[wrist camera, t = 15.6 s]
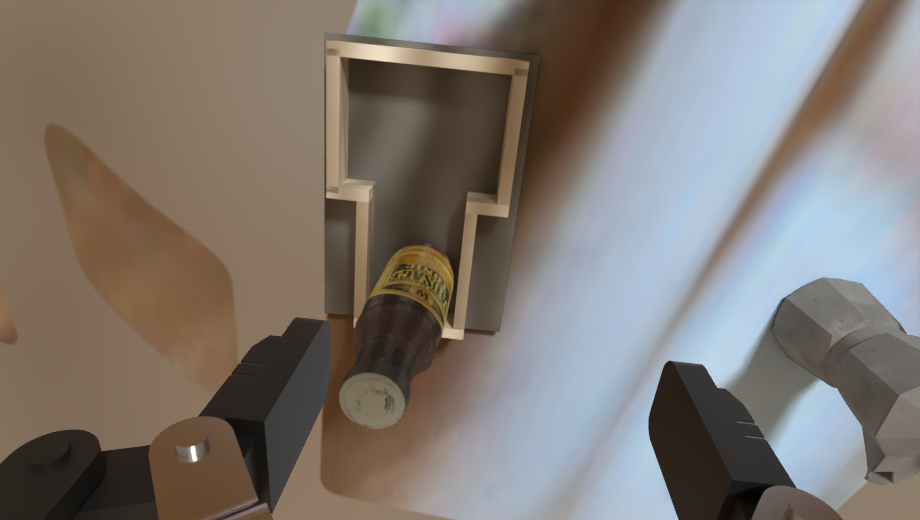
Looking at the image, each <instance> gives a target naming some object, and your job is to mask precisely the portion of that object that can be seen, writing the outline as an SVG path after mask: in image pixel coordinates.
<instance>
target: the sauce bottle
mask: <svg viewBox="0 0 920 520" xmlns="http://www.w3.org/2000/svg"><path fill="white" fill-rule="evenodd" d="M453 286H454V273H453V266H452V263H451V262H450V260H449V258H448V257H447V255H446V254H445V253H444V252H443V251H442V250H440V249H439V248H438V247H436V246H434V245H430V244H426V243H412V244H410V245H407V246H405V247H403V248H402V249H400V250H399V251H398V252H396V253H395V254H394V255H393V256H392V257H391V259H390V260H389V262H388V264H387V265H386V267H385V269H384V271H383V273H382V275H381V277H380V278H379V280H378V282H377V284H376V285H375V287H374V289H373V291H372V293H371V294H370V296H369V298H368V300H367V301H366V303H365V305H364V307H363V310H362V313H361V315H360V317H359V318H358V320H357V321H356V325H355V329H354V336H353V342H354V350H355V353H356V355H357V361H356V362H355V365H354V367H353V368H352V369H350V370H349V372H348V373H347V374H346V376H345V378H344V380H343V382H342V385H341V387H340V391H339V402H340V407H341V409H342V410H343V413H344V414H345V415H346V416H347V417H348V418H349V419H350V420H351V421H352V422H354V423H356V424H358V425H360V426H362V427H364V428H369V429H381V428H386V427H389V426H392V425H394V424H395V423H397V422H398V421H399V420H400V418H401V417H402V416H403V415H404V412H405V411H406V408H407V405H408V403H409V399H410V389H409V387H410V383H411V380H412V379H413V376H414V375H416V374H418V373H420V372H422V371H424V370H427V369H428V368H429V367H430V365H431V363H432V361H433V358H434V355H435V352H436V350H437V347H438V344H439V342H440V340H441V337H442V334H443V329H444V325H445V321H446V317H447V312H448V308H449V303H450V299H451V295H452V291H453Z"/></svg>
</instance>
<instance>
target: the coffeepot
mask: <svg viewBox="0 0 920 520" xmlns="http://www.w3.org/2000/svg"><path fill="white" fill-rule="evenodd" d="M771 331H772V333H773V334H774V336H775V338H776V340H777V342H778V343H779V344H780V346H781V348H782V349H783V351H784V353H785V354H786V356H787V357H788V358H789V359H791V360H792V361H794V362H795V363H797V364H798V365H800V366H801V367H803V368H804V369H806V370H807V371H809V372H810V373H812V374H813V375H815V376H816V377H818V378H819V379H821V380H822V381H824V382H825V383H827V384H828V385H830V386H831V387H835V388H837V389H838V391H839V392H840V394H841V396H842V397H843V399H844V401H845V402H846V404H847V405H848V407H849V408H850V410H851V411H852V413H853V414H854V415H855V417H856V418H857V420H858V421H859V423H860V424H861V425H862V429H863V436H864V443H865V449H866V457H867V467H868V471H867V474H866V476H865V479H866V480H867V481H869V482H872V483H874V484H879V485H886V484H888V483H890V482H892V483H896V482H898V481H901V480H903V479H906V478H908V477H911V476H913V475H916V474H920V337H917V336H912V335H907V334H906V332H905V330H904V329H903V327H902V326H901V324H900V323H899V322H898V321H897V320H896V319H895V318H894V317H893V316H892V315H891V314H890V313H889V312H888V310H887V309H886V308H885V307H884V306H883V305H882V304H881V303H880V302H879V301H878V300H877V299H876V298H875V297H874V296H873V295H872V294H871V293H870V292H869V291H868V290H867V288H866V287H865V286H864V285H863V284H862V283H856V282H850V281H846V280H842V279H830V278H824V277H823V278H821V279H818V280H816V281H813V282H811V283H809V284H806V285H804V286H802V287H801V288H799V289H797V290H796V291H794V292H793V293H792V294H791V295H790V296H788V297H786V298H785V300H784V301H783V303H782V304H781V306H780V308H779V310H778V312H777V314H776V317H775V320H774V326H773V328H772V330H771Z"/></svg>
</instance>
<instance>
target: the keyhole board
mask: <svg viewBox="0 0 920 520" xmlns="http://www.w3.org/2000/svg"><path fill="white" fill-rule="evenodd" d="M324 34H325V36H324V39H325V313H331V314H340V315H349V316H354V328H355V325H356V321H357V320H358V318H359V317H360V315H361V313H362V310H363V307H364V305H365V303H366V301H367V300H368V298H369V296H370V294H371V293H372V291H373V289H374V287H375V285H376V284H377V282H378V280H379V278H380V277H381V275H382V273H383V271H384V269H385V267H386V265H387V264H388V262H389V260H390V259H391V257H392V256H393V255H394V254H395V253H396V252H398V251H399V250H400V249H402V248H403V247H405V246H407V245H410V244H412V243H426V244H430V245H434V246H436V247H438V248H439V249H440V250H442V251H443V252H444V253H445V254H446V255H447V257H448V258H449V260H450V262H451V263H452V266H453V273H454V286H453V291H452V295H451V299H450V303H449V308H448V312H447V317H446V321H445V325H444V329H443V334H442V338H451V339H460V340H463V335H464V328H468V329H477V330H486V331H495V332H500V327H501V320H502V313H503V306H504V300H505V293H506V286H507V279H508V272H509V266H510V259H511V252H512V245H513V238H514V232H515V225H516V218H517V211H518V204H519V197H520V191H521V184H522V177H523V170H524V163H525V157H526V150H527V143H528V136H529V129H530V123H531V116H532V109H533V102H534V95H535V88H536V82H537V75H538V68H539V61H540V55H533V54H524V53H514V52H505V51H495V50H486V49H477V48H467V47H458V46H449V45H439V44H430V43H421V42H411V41H402V40H392V39H383V38H374V37H364V36H355V35H346V34H336V33H326V32H325V33H324Z"/></svg>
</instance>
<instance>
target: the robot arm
mask: <svg viewBox="0 0 920 520" xmlns="http://www.w3.org/2000/svg"><path fill="white" fill-rule="evenodd" d="M329 383H330V331H329V323H328V322H327V321H324V320H315V319H306V318H298V317H296V318H295V319H294V320H293V321H292V322H291V324H290V325H289V327H288V328H287V329H286V331H285V332H284V334H283V335H282V336H281V337H280V336H272V335H270V336H268V337H267V338H265V339H264V340H262V341H260V342H259V343H257V344H255V345H254V346H252V348H251V349H250V350H249V351H248V353H247V354H246V355H245V356H244V358H243V359H242V360H241V364H238V366H237V367H236V368H235V369H234V371H233V372H232V375H231V376H229V377H228V378H227V380H226V381H225V382H224V384H223V385H222V386H221V388H220V389H219V390H218V391H217V393H216V394H215V395H214V397H213V398H212V399H211V401H210V402H209V403H208V404H207V406H206V407H205V408H204V410H203V411H202V412H201V413H200V415H199V416H198V417H194V418H189V419H186V420H183V421H180V422H178V423H175V424H173V425H171V426H170V427H168V428H166V429H165V430H164V431H162V432H161V433H160V434H159V435H158V436H157V437H156V438H155V439H154V440H153V442H152V444H151V445H147V446H141V447H133V448H125V449H117V450H109V451H101V448H100V444H99V441H98V439H97V437H96V436H95V435H93V434H91V433H90V432H87V431H83V430H63V431H57V432H53V433H49V434H46V435H43V436H41V437H38V438H36V439H34V440H31V441H29V442H27V443H26V444H24V445H22V446H21V447H19V448H18V449H16V450H15V451H14V452H13V453H11V454H10V455H9V456H8V457H7V458H6V459H5V460H4V461H3V462H2V463H1V464H0V520H273V518H272V516H271V514H272V513H273V511H274V508H275V506H276V504H277V502H278V500H279V498H280V496H281V493H282V491H283V489H284V487H285V485H286V483H287V481H288V478H289V476H290V474H291V472H292V470H293V468H294V466H295V464H296V461H297V459H298V457H299V455H300V453H301V451H302V448H303V446H304V444H305V442H306V440H307V438H308V436H309V434H310V431H311V429H312V427H313V425H314V423H315V421H316V419H317V416H318V414H319V412H320V410H321V408H322V406H323V404H324V401H325V399H326V396H327V393H328V388H329ZM649 437H650V441H651V444H652V446H653V449H654V452H655V455H656V458H657V460H658V463H659V466H660V469H661V472H662V474H663V477H664V480H665V483H666V486H667V488H668V491H669V494H670V497H671V500H672V502H673V505H674V508H675V511H676V514H677V516H678V519H679V520H843V519H842V518H841V517H840V515H839V514H838V513H837V512H836V511H835V510H834V509H833V508H831V507H830V506H829V505H828V504H826V503H825V502H823V501H822V500H821V499H819V498H817V497H815V496H814V495H812V494H810V493H808V492H805V491H803V490H800V489H797V488H796V486H795V485H794V483H793V482H792V480H791V478H790V477H789V475H788V474H787V472H786V471H785V469H784V467H783V466H782V464H781V463H780V461H779V460H778V458H777V456H776V455H775V453H774V452H773V450H772V449H771V447H770V445H769V444H768V442H767V441H766V440H764V436H763V434H762V433H761V431H760V430H759V428H758V426H756V425H755V422H754V420H753V419H752V417H751V415H750V414H749V412H748V411H747V409H746V408H745V406H744V405H743V404H742V403H741V402H740V401H739V400H738V399H736V398H735V397H734V396H733V395H732V394H731V393H729V392H728V391H727V390H726V389H722V388H717V387H716V385H715V383H714V382H713V380H712V378H711V377H710V375H709V373H708V372H707V370H706V368H705V367H704V366H703V365H701V364H692V363H684V362H675V361H668V362H667V363H666V364H665V366H664V368H663V371H662V374H661V377H660V381H659V384H658V387H657V391H656V394H655V397H654V401H653V404H652V407H651V411H650V415H649Z"/></svg>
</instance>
